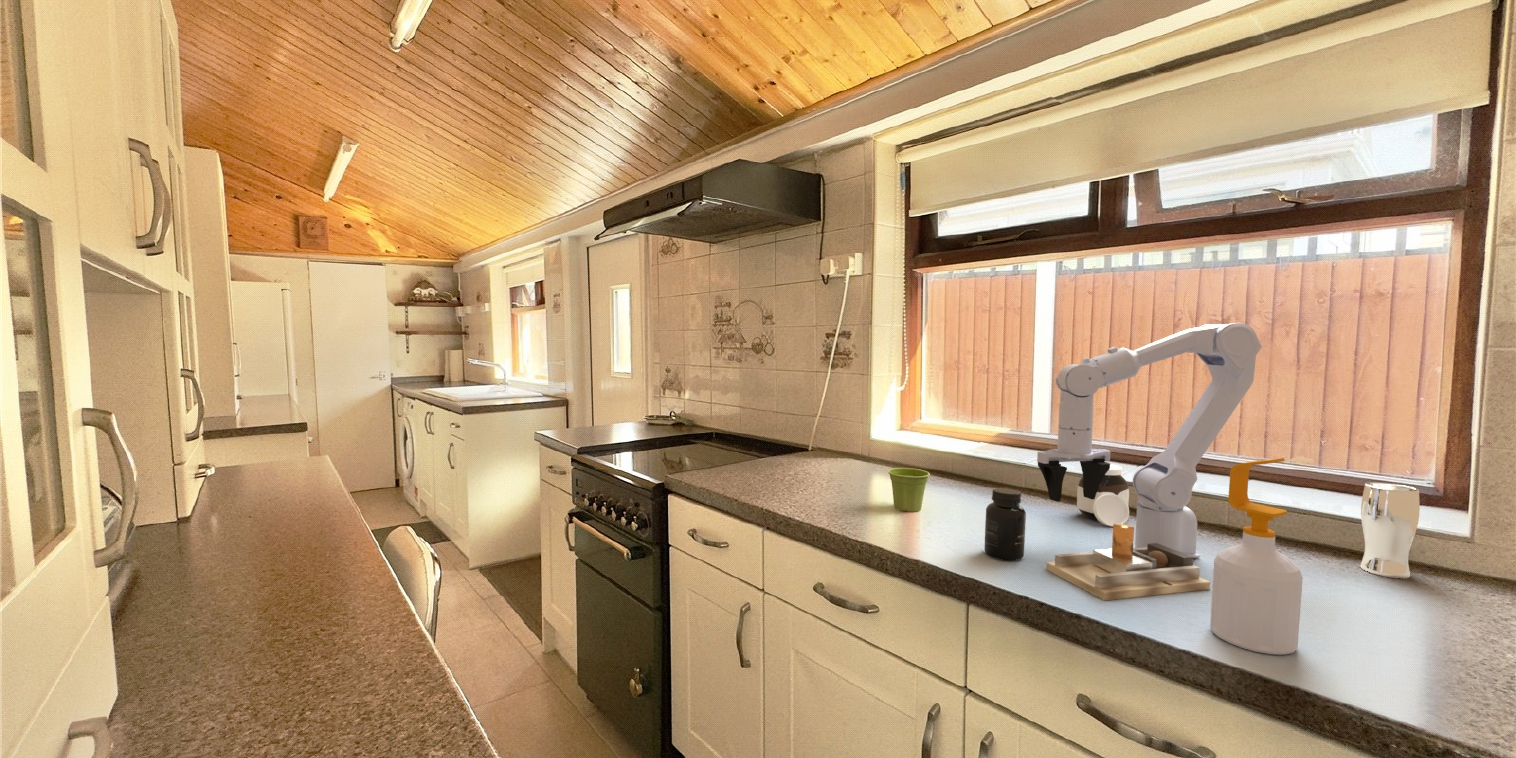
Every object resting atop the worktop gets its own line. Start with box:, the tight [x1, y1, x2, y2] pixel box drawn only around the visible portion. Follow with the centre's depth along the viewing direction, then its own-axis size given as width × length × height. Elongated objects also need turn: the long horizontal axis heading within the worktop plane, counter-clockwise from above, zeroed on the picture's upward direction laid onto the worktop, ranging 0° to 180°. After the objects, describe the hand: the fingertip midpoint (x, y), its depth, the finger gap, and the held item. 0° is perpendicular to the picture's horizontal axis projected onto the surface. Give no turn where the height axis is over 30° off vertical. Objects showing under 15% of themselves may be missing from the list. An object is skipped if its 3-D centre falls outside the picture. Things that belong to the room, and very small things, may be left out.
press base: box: [1045, 543, 1211, 601], centre depth 102 cm, size 20×13×4 cm, turn 103°
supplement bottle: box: [983, 487, 1027, 562], centre depth 113 cm, size 7×7×12 cm
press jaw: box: [1092, 523, 1157, 573], centre depth 102 cm, size 6×7×7 cm
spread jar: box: [1076, 463, 1130, 527], centre depth 135 cm, size 12×11×12 cm
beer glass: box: [1359, 481, 1421, 580], centre depth 106 cm, size 7×7×15 cm
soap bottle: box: [1209, 457, 1303, 656], centre depth 81 cm, size 9×9×25 cm
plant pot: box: [887, 467, 931, 513], centre depth 143 cm, size 9×9×9 cm
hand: (1072, 499), depth 117 cm, fingers open, 7 cm apart
